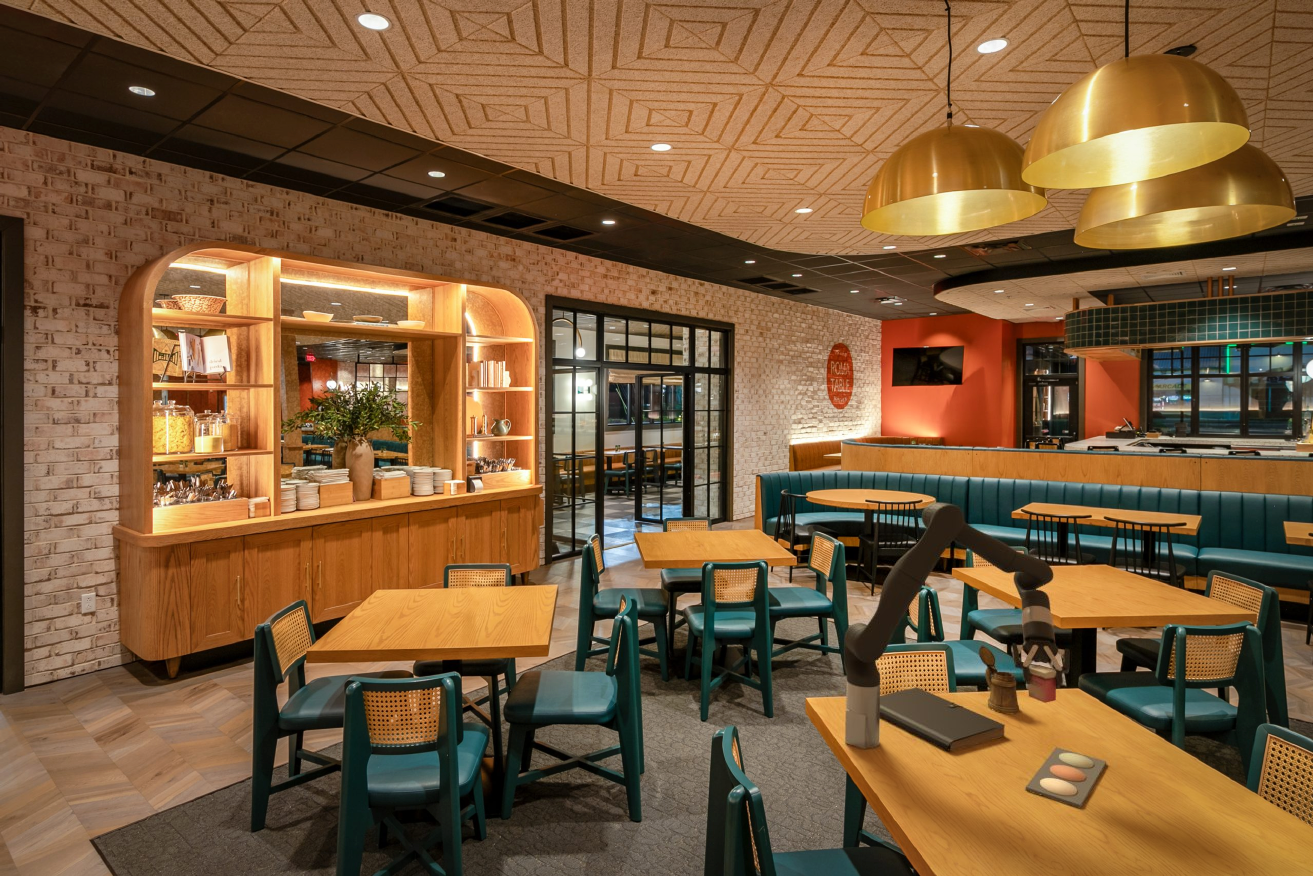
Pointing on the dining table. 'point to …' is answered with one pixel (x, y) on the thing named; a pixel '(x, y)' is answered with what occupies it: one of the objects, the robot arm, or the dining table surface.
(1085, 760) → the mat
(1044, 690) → the small box
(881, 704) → the file folder
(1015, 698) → the wooden mug
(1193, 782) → the dining table surface
